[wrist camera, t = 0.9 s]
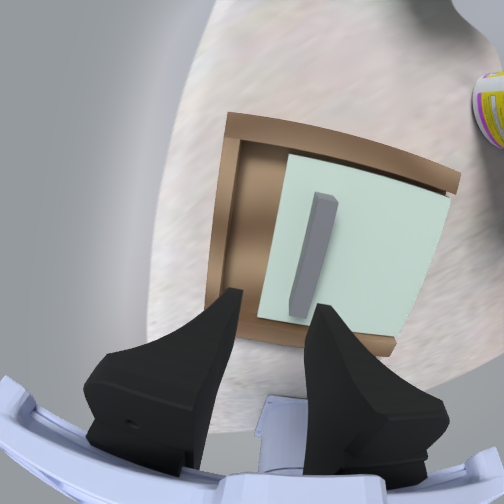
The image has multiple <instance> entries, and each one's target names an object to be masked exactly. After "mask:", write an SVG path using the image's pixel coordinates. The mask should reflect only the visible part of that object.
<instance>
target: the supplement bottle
mask: <svg viewBox="0 0 504 504" xmlns="http://www.w3.org/2000/svg"><path fill="white" fill-rule="evenodd" d="M473 110H474V114H475V118H476V121H477V123H478V126H479V128H480V130H481V131H482V133H483V135H484V136H485V137H486V138H487V139H488V141H490V142H491V143H492V144H493V145H495V146H496V147H498V148H501V149H504V71H501V72H494V73H489V74H486V75H483V76H482V77H480V78H479V79H478V81H477V82H476V84H475V87H474V90H473Z"/></svg>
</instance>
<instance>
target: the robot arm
mask: <svg viewBox="0 0 504 504" xmlns="http://www.w3.org/2000/svg"><path fill="white" fill-rule="evenodd" d="M242 296H243V290H241V289H236V288H231V287H228V288H227V289H225V291H224V292H223V293H222V294H221V295H220V296H219V297H218V298H217V299H216V300H215V301H214V302H213V303H212V304H211V305H210V306H209V307H208V308H207V309H205V310H204V311H203V312H202V313H201V314H199V315H198V316H197V317H195V318H194V319H193V320H191V321H190V322H188V323H187V324H185V325H184V326H182V327H181V328H179V329H177V330H176V331H174V332H172V333H170V334H168V335H166V336H164V337H162V338H160V339H158V340H155V341H153V342H150V343H147V344H144V345H141V346H138V347H135V348H132V349H128V350H124V351H119V352H114V353H109V354H107V355H106V356H105V357H104V358H103V359H102V360H101V361H100V362H99V364H98V365H97V367H96V368H95V369H94V371H93V372H92V374H91V375H90V377H89V378H88V380H87V381H86V383H85V384H84V388H83V390H84V394H85V398H86V400H87V402H88V405H89V407H90V409H91V411H92V413H93V416H94V418H95V420H94V421H93V423H92V425H91V427H90V429H89V431H88V432H87V431H85V430H83V429H81V428H79V427H77V426H75V425H73V424H71V423H69V422H67V421H65V420H63V419H61V418H60V417H57V416H56V415H54V414H53V413H51V412H49V411H47V410H46V409H44V408H42V407H41V406H39V405H37V404H36V402H35V400H34V398H33V396H32V394H31V393H30V392H29V391H28V390H27V389H26V388H25V387H23V386H22V385H20V384H19V383H17V382H16V381H14V380H13V379H12V378H10V377H9V376H7V375H6V376H4V378H3V379H2V380H1V381H0V448H1V449H2V450H3V451H4V452H5V453H6V454H7V455H8V456H10V457H11V458H12V459H13V460H15V461H16V462H17V463H19V464H20V465H21V466H23V467H24V468H25V469H27V470H28V471H29V472H31V473H32V474H34V475H35V476H37V477H38V478H40V479H41V480H42V481H44V482H45V483H47V484H48V485H50V486H51V487H53V488H54V489H56V490H58V491H59V492H61V493H63V494H64V495H66V496H68V497H70V498H71V499H73V500H75V501H76V502H78V503H80V504H489V503H491V502H492V501H494V500H495V499H497V498H498V497H500V496H502V495H503V494H504V469H503V466H502V463H501V460H500V458H499V455H498V452H497V450H496V447H492V448H489V449H486V450H483V451H480V452H478V453H476V454H474V455H473V456H472V457H470V458H469V459H468V460H467V461H466V462H465V463H464V464H460V465H457V466H453V467H450V468H446V469H443V470H438V471H434V472H430V473H427V472H426V467H425V463H424V461H425V460H427V459H428V455H427V449H428V448H429V447H430V446H431V445H432V444H433V443H434V442H436V440H438V439H439V438H440V437H441V436H442V434H443V433H444V432H445V431H446V429H447V427H448V425H449V422H450V420H449V416H448V414H447V411H446V409H445V406H444V404H443V401H442V400H440V399H438V398H436V397H434V396H431V395H429V394H427V393H425V392H423V391H421V390H420V389H418V388H416V387H415V386H413V385H411V384H410V383H408V382H406V381H405V380H403V379H402V378H400V377H399V376H398V375H396V374H395V373H394V372H392V371H391V370H390V369H389V368H387V367H386V366H385V365H384V364H382V363H381V362H380V361H379V360H378V359H377V358H376V357H375V356H374V355H373V354H372V353H371V352H370V351H369V350H368V349H367V348H366V347H365V346H364V345H363V344H362V343H361V342H360V341H359V339H358V338H357V337H356V336H355V335H354V334H353V332H352V331H351V330H350V329H349V327H348V326H347V325H346V324H345V322H344V321H343V320H342V318H341V317H340V316H339V315H338V313H337V312H336V311H335V309H334V308H333V307H332V306H331V305H327V304H320V303H317V305H316V308H315V311H314V314H313V317H312V320H311V323H310V326H309V329H308V332H307V335H306V337H305V344H304V366H305V377H306V387H307V398H308V400H306V399H297V398H288V397H280V396H273V395H270V396H268V397H267V399H266V402H265V405H264V408H263V410H262V413H261V416H260V419H259V422H258V425H257V427H256V430H255V433H254V435H255V436H256V437H261V438H262V439H261V448H260V457H259V466H258V472H243V473H235V474H230V475H229V476H224V475H218V474H214V473H209V472H204V471H200V470H199V469H200V464H201V460H202V455H203V450H204V446H205V442H206V437H207V433H208V429H209V424H210V420H211V416H212V411H213V407H214V403H215V399H216V395H217V392H218V388H219V386H220V383H221V380H222V377H223V374H224V372H225V369H226V366H227V363H228V360H229V357H230V355H231V352H232V349H233V345H234V340H235V336H236V331H237V326H238V320H239V314H240V308H241V302H242Z"/></svg>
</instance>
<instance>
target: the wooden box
mask: <svg viewBox="0 0 504 504" xmlns="http://www.w3.org/2000/svg"><path fill="white" fill-rule="evenodd" d="M289 153H292V154H297V155H302V156H307V157H311V158H316V159H321V160H325V161H329V162H334V163H338V164H342V165H346V166H350V167H354V168H358V169H362V170H365V171H369V172H373V173H376V174H380V175H383V176H387V177H390V178H394V179H397V180H400V181H403V182H407V183H410V184H413V185H416V186H419V187H422V188H425V189H428V190H431V191H434V192H437V193H439V194H442V195H445V194H446V191H447V192H450V193H453V194H455V195H456V193H457V189H458V185H459V181H460V177H461V173H460V172H457V171H455V170H453V169H450V168H448V167H445V166H443V165H441V164H438V163H435V162H433V161H430V160H428V159H425V158H422V157H420V156H417V155H414V154H411V153H408V152H406V151H403V150H400V149H397V148H394V147H390V146H387V145H384V144H381V143H378V142H374V141H371V140H367V139H364V138H360V137H357V136H353V135H349V134H346V133H342V132H338V131H334V130H329V129H325V128H321V127H316V126H312V125H307V124H302V123H297V122H292V121H287V120H281V119H275V118H269V117H263V116H256V115H249V114H242V113H234V112H228V114H227V120H226V127H225V133H224V140H223V147H222V154H221V161H220V168H219V176H218V183H217V191H216V199H215V207H214V216H213V224H212V233H211V242H210V252H209V262H208V272H207V283H206V294H205V306H204V310H205V309H207V308H208V307H209V306H210V305H211V304H212V303H213V302H214V301H215V300H216V299H217V298H218V297H219V296H220V295H221V294H222V293H223V292H224V291H225V289H227V288H228V287H231V288H236V289H241V290H243V296H242V302H241V308H240V314H239V320H238V326H237V331H236V337H241V338H246V339H252V340H257V341H263V342H269V343H275V344H281V345H287V346H294V347H301V348H304V344H305V337H306V335H307V332H308V329H309V326H308V325H302V324H295V323H289V322H283V321H277V320H271V319H266V318H260V317H257V314H258V308H259V303H260V298H261V293H262V288H263V284H264V279H265V274H266V269H267V264H268V259H269V254H270V249H271V244H272V238H273V233H274V228H275V223H276V218H277V213H278V207H279V202H280V197H281V192H282V186H283V181H284V175H285V170H286V165H287V159H288V154H289ZM353 334H354V335H355V336H356V337H357V338H358V339H359V341H360V342H361V343H362V344H363V345H364V346H365V347H366V348H367V349H368V350H369V351H370V352H371V353H372V354H373V355H374V356H382V357H389V356H390V355H391V353H392V351H393V349H394V347H395V346H396V344H397V343H396V340H395V338H394V336H386V335H376V334H367V333H359V332H353Z"/></svg>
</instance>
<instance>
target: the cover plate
mask: <svg viewBox="0 0 504 504" xmlns="http://www.w3.org/2000/svg"><path fill="white" fill-rule="evenodd" d="M451 200H452V199H451V198H449V197H447V196H445V195H442V194H439V193H437V192H434V191H431V190H428V189H425V188H422V187H419V186H416V185H413V184H410V183H407V182H403V181H400V180H397V179H394V178H390V177H387V176H383V175H380V174H376V173H373V172H369V171H365V170H362V169H358V168H354V167H350V166H346V165H342V164H338V163H334V162H329V161H325V160H321V159H316V158H311V157H307V156H302V155H297V154H292V153H289V154H288V159H287V165H286V170H285V175H284V181H283V186H282V192H281V197H280V202H279V207H278V213H277V218H276V223H275V228H274V233H273V238H272V244H271V249H270V254H269V259H268V264H267V269H266V274H265V279H264V284H263V288H262V293H261V298H260V303H259V308H258V314H257V317H260V318H266V319H271V320H277V321H283V322H289V323H295V324H302V325H308V326H310V323H311V320H312V317H313V314H314V311H315V308H316V305H317V303H320V304H327V305H331V306H332V307H333V308H334V309H335V311H336V312H337V313H338V315H339V316H340V317H341V318H342V320H343V321H344V322H345V324H346V325H347V326H348V327H349V329H350V330H351V331H352V332H359V333H367V334H376V335H386V336H395V337H397V336H398V335H399V333H400V331H401V329H402V327H403V325H404V323H405V321H406V319H407V317H408V315H409V312H410V310H411V308H412V306H413V304H414V302H415V300H416V297H417V295H418V293H419V290H420V288H421V286H422V283H423V281H424V279H425V276H426V274H427V271H428V269H429V266H430V264H431V261H432V258H433V256H434V253H435V250H436V247H437V245H438V242H439V239H440V236H441V233H442V230H443V227H444V224H445V220H446V217H447V214H448V210H449V207H450V203H451Z"/></svg>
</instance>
